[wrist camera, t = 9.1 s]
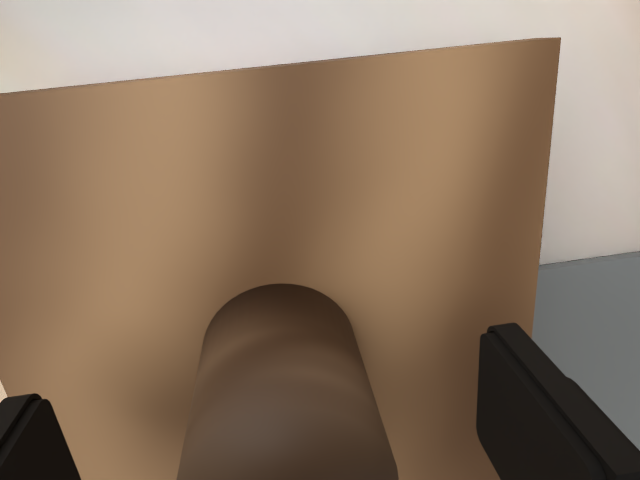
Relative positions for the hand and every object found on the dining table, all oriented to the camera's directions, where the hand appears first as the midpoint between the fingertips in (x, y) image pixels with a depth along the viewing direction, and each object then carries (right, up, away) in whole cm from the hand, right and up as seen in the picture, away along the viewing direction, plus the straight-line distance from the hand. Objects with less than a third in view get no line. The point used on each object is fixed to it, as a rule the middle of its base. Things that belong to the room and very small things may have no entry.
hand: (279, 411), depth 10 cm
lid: (0, +1, +3) cm, 3 cm away
